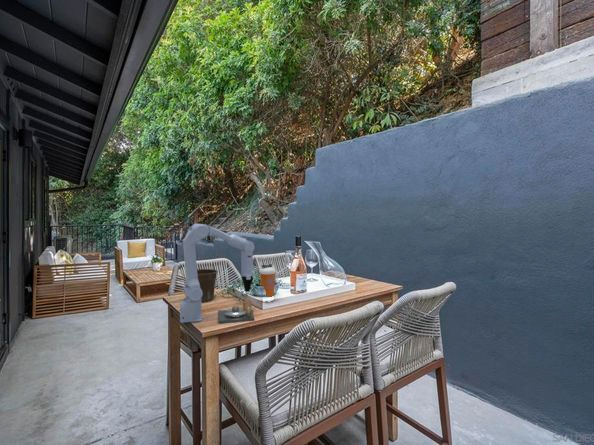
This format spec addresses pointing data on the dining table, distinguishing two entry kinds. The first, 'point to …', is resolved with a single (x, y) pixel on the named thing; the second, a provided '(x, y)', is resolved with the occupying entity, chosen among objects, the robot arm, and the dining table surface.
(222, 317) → the base plate
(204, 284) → the plant pot
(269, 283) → the glass of beer
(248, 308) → the dowel
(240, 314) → the flange
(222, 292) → the dining table surface
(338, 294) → the dining table surface
